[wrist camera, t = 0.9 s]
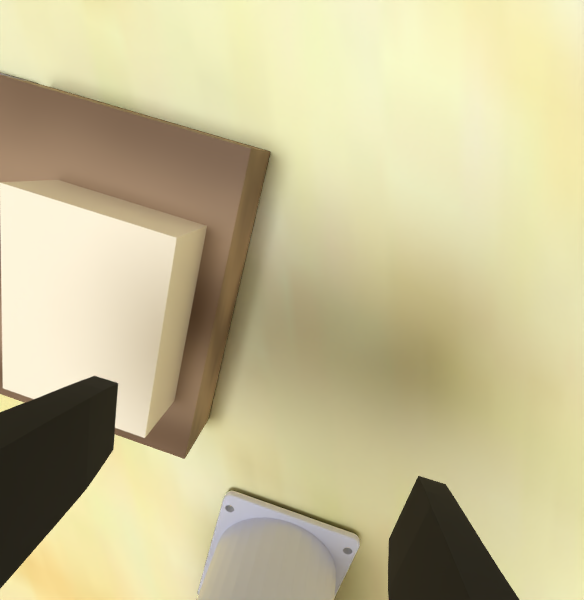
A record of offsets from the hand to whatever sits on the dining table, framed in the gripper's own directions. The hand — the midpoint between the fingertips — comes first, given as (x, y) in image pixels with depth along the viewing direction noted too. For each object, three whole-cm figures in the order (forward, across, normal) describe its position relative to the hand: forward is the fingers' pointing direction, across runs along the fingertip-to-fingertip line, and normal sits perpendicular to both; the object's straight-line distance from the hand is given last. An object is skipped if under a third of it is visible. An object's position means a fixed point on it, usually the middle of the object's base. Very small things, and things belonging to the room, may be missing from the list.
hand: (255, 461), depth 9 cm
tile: (+5, +7, 0) cm, 9 cm away
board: (+10, +8, 0) cm, 13 cm away
